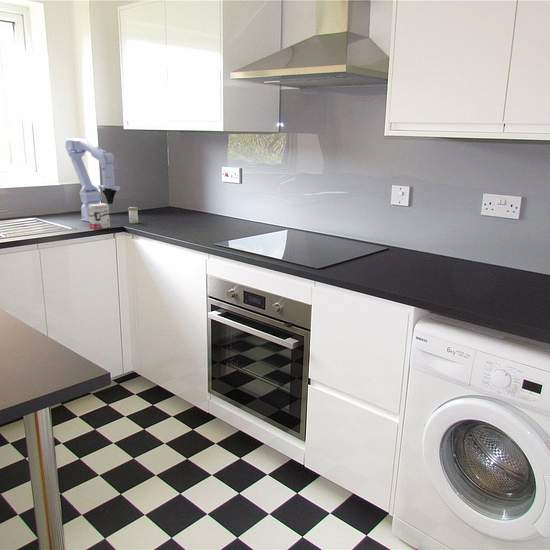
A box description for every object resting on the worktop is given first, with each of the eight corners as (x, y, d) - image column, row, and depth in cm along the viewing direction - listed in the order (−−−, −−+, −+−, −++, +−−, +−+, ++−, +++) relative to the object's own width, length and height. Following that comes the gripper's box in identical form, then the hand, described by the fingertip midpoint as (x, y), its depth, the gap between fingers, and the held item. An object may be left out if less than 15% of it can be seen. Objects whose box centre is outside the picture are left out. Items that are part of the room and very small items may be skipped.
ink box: (94, 229, 260) (92, 205, 257) (90, 228, 264) (87, 204, 260) (110, 227, 266) (108, 204, 263) (106, 226, 269) (104, 203, 266)
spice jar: (127, 222, 279) (126, 207, 277) (134, 221, 283) (133, 206, 281) (133, 223, 276) (132, 208, 274) (140, 222, 280) (139, 207, 278)
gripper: (92, 176, 271) (94, 203, 274) (111, 178, 263) (113, 205, 267) (103, 176, 277) (105, 202, 280) (122, 177, 269) (124, 204, 272)
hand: (110, 203), depth 274 cm, fingers closed
